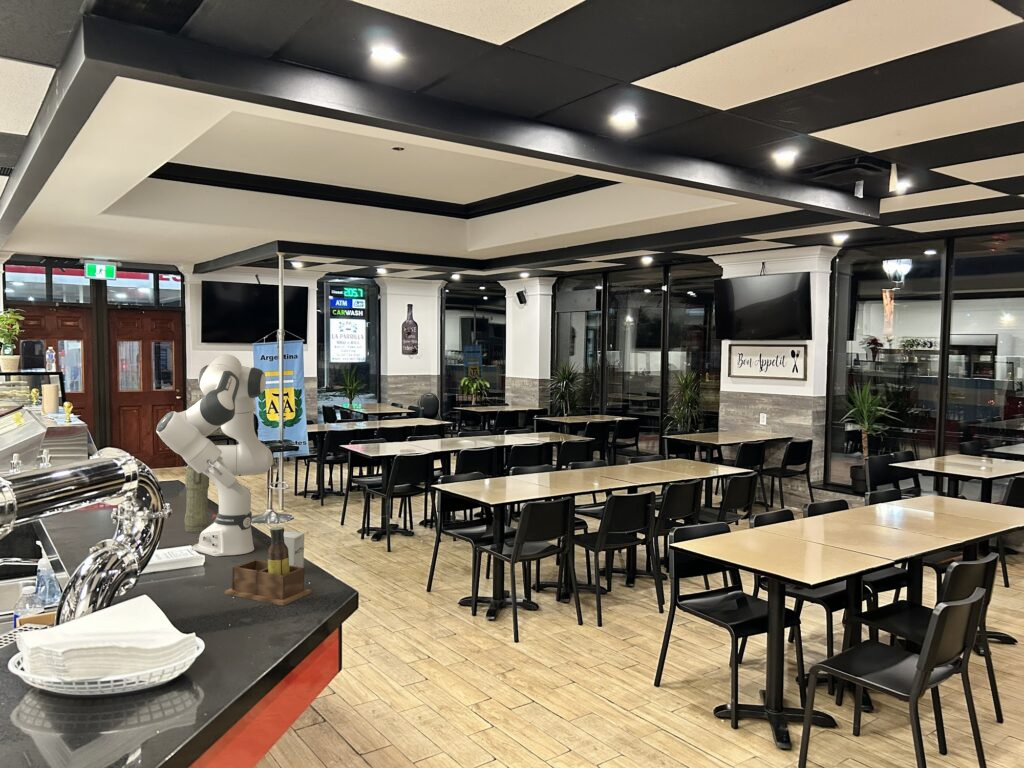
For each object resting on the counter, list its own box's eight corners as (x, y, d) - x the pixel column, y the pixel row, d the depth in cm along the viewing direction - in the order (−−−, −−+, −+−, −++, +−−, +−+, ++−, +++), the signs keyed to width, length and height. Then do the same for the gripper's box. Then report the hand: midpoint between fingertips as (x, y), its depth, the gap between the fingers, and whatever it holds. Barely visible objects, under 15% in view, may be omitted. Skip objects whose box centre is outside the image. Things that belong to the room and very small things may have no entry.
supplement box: (293, 575, 244) (294, 537, 244) (273, 573, 246) (274, 535, 245) (304, 569, 251) (305, 532, 251) (284, 566, 253) (285, 530, 252)
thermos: (186, 534, 289) (187, 446, 287) (183, 527, 299) (184, 442, 298) (210, 532, 293) (212, 445, 292) (206, 526, 304) (208, 441, 302)
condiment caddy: (224, 593, 224) (225, 567, 223) (254, 581, 236) (254, 557, 235) (283, 605, 216) (283, 579, 215) (310, 592, 228) (311, 567, 227)
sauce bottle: (287, 587, 228) (286, 524, 228) (292, 593, 223) (291, 528, 222) (265, 590, 225) (265, 526, 224) (270, 596, 220) (270, 531, 219)
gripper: (218, 455, 204) (254, 488, 209) (210, 445, 222) (243, 476, 227) (201, 472, 202) (237, 505, 207) (194, 461, 220) (228, 491, 225)
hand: (240, 490), depth 217 cm, fingers open, 8 cm apart
